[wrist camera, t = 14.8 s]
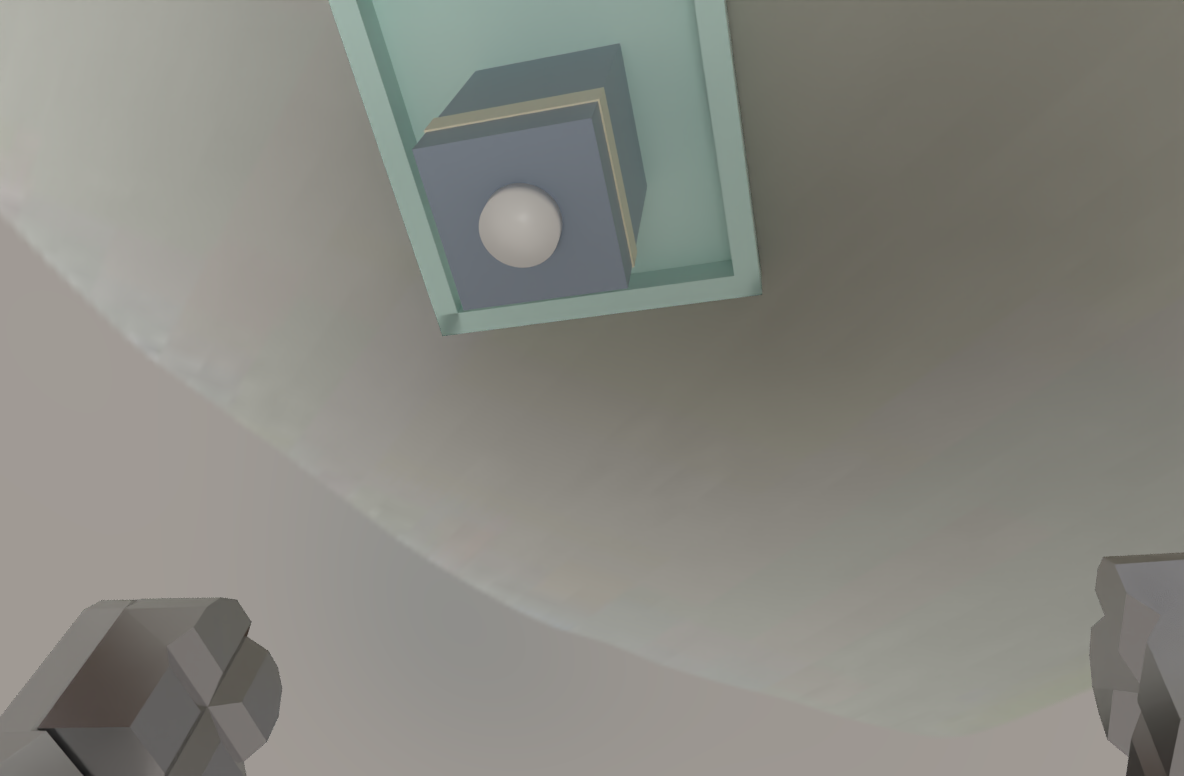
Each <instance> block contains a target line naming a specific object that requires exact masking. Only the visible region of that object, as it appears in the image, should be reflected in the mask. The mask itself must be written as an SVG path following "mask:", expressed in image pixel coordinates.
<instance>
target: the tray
mask: <svg viewBox="0 0 1184 776" xmlns="http://www.w3.org/2000/svg"><path fill="white" fill-rule="evenodd" d="M328 1H329V4H330V7H331V10H332V13H333V16H334V18H335V21H336V24H337V27H338V30H339V33H340V36H341V39H342V42H343V45H344V48H345V51H346V54H347V57H348V60H349V63H350V65H351V68H352V71H353V74H354V77H355V80H356V83H357V86H358V89H359V92H360V95H361V98H362V101H363V104H364V107H365V110H366V113H367V115H368V118H369V121H370V124H371V127H372V130H373V133H374V136H375V139H376V142H377V145H378V148H379V151H380V154H381V157H382V160H383V162H384V165H385V168H386V171H387V174H388V177H389V180H390V183H391V186H392V189H393V192H394V195H395V198H396V201H397V204H398V207H399V210H400V212H401V215H402V218H403V221H404V224H405V227H406V230H407V233H408V236H409V239H410V242H411V245H412V248H413V251H414V254H415V257H416V260H417V262H418V265H419V268H420V271H421V274H422V277H423V280H424V283H425V286H426V289H427V292H428V295H429V298H430V301H431V304H432V307H433V309H434V312H435V315H436V318H437V321H438V324H439V327H440V330H441V333H442V336H448V335H455V334H463V333H471V332H478V331H486V330H494V329H502V328H509V327H517V326H525V325H532V324H540V323H548V322H555V321H563V320H571V319H579V318H586V317H594V316H602V315H609V314H617V313H625V312H632V311H640V310H648V309H655V308H663V307H671V306H679V305H686V304H694V303H702V302H709V301H717V300H725V299H732V298H740V297H748V296H755V295H762V281H761V268H760V260H759V252H758V244H757V237H756V229H755V221H754V213H753V206H752V198H751V190H750V182H749V175H748V167H747V159H746V151H745V144H744V136H743V128H742V120H741V113H740V105H739V97H738V89H737V82H736V74H735V66H734V58H733V51H732V43H731V35H730V27H729V20H728V12H727V4H726V0H328ZM618 43H620V46H621V51H622V57H623V62H624V67H625V72H626V78H627V83H628V88H629V93H630V99H631V104H632V109H633V115H634V120H635V125H636V130H637V136H638V141H639V146H640V151H641V157H642V162H643V167H644V173H645V178H646V183H647V190H646V195H645V201H644V206H643V211H642V217H641V222H640V227H639V232H638V238H637V243H636V248H637V256H636V261H635V266H634V267H633V268H632V269H631V275H630V280H629V285H628V288H627V289H619V290H612V291H604V292H597V293H590V294H582V295H575V296H567V297H560V298H553V299H545V300H538V301H530V302H523V303H516V304H508V305H501V306H494V307H486V308H479V309H471V310H463V307H462V304H461V301H460V298H459V295H458V291H457V288H456V285H455V282H454V279H453V276H452V273H451V270H450V266H449V263H448V260H447V257H446V254H445V251H444V248H443V245H442V242H441V238H440V235H439V232H438V229H437V226H436V223H435V220H434V217H433V214H432V210H431V207H430V204H429V201H428V198H427V195H426V192H425V189H424V186H423V182H422V179H421V176H420V173H419V170H418V167H417V164H416V161H415V157H414V154H413V151H412V149H413V148H414V146H415V145H416V144H417V143H418V142H419V140H420V139H421V138H422V137H423V135H424V134H425V133H424V130H425V128H426V127H427V126H428V125H429V123H430V122H431V121H432V120H433V119H434V118H437V117H439V116H440V114H441V113H442V112H443V111H444V109H445V108H446V107H447V106H448V104H449V103H450V102H451V101H452V99H453V98H454V97H455V96H456V95H457V93H458V92H459V91H460V90H461V88H462V87H463V86H464V85H465V83H466V82H467V81H468V80H469V78H470V77H471V76H472V75H473V73H474V72H475V71H478V70H483V69H488V68H493V67H499V66H504V65H509V64H514V63H519V62H525V61H530V60H535V59H540V58H545V57H551V56H556V55H561V54H566V53H571V52H577V51H582V50H587V49H592V48H597V47H603V46H608V45H613V44H618Z"/></svg>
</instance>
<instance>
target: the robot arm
mask: <svg viewBox="0 0 1184 776" xmlns="http://www.w3.org/2000/svg"><path fill="white" fill-rule="evenodd" d="M1095 591H1096V594H1097V597H1098V599H1099V602H1100V605H1101V607H1102V610H1103V613H1104V615H1105V616H1104V617H1103V618H1101V619H1100V620H1099V621H1098V622H1097V623H1096V624H1094V625H1093V626H1092V627H1091V638H1090V654H1089V656H1090V667H1091V677H1092V687H1093V691H1094V695H1095V699H1096V704H1097V708H1098V712H1099V715H1100V718H1101V721H1102V725H1103V727H1104V731H1105V734H1106V737H1107V740H1109V741H1110V742H1111V743H1112V744H1113V745H1115V746H1116V747H1117V748H1118V749H1119V750H1121V751H1122V752H1123V753H1124V754H1126V755H1127V756H1128V757H1129V758H1128V766H1127V772H1126V776H1184V552H1183V553H1164V554H1146V555H1128V556H1109V557H1103V558H1102V560H1101V563H1100V565H1099V567H1098V570H1097V578H1096V587H1095ZM250 625H251V620H250V619H249V617H248V616H247V614H246V613H245V611H244V610H243V608H242V607H241V605H240V604H239V602H238V601H237V600H235V599H228V598H221V597H220V598H161V599H140V600H101V601H99V602H97V603H96V604H94V605H92V606H90V607H88V608H86V609H84V610H83V611H82V613H81V614H80V615H79V617H78V618H77V619H76V621H75V622H74V623H73V624H72V626H71V627H70V628H69V629H68V631H67V632H66V633H65V634H64V636H63V637H62V638H61V640H60V641H59V642H58V643H57V645H56V646H55V647H54V649H53V650H52V651H51V652H50V654H49V655H48V656H47V658H46V659H45V660H44V661H43V663H42V664H41V665H40V666H39V668H38V669H37V670H36V672H35V673H34V674H33V675H32V677H31V678H30V679H29V681H28V682H27V683H26V684H25V686H24V687H23V688H22V690H21V691H20V692H19V693H18V695H17V696H16V697H15V698H14V700H13V701H12V702H11V704H10V705H9V706H8V707H7V709H6V710H5V711H4V713H3V714H2V715H1V716H0V776H246V771H245V765H244V761H245V760H246V759H247V758H249V757H250V756H251V755H252V754H253V753H254V752H256V751H257V750H258V749H259V748H260V747H261V746H263V745H264V744H265V743H266V742H267V740H268V738H269V736H270V734H271V732H272V730H273V727H274V725H275V723H276V721H277V719H278V716H279V709H280V701H281V694H282V685H281V680H280V675H279V671H278V667H277V665H276V663H275V661H274V660H273V658H272V656H271V654H270V653H269V651H268V650H266V649H265V648H263V647H262V646H260V645H259V644H257V643H256V642H254V641H253V640H251V639H250V638H248V637H247V635H248V632H249V629H250Z"/></svg>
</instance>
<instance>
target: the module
mask: <svg viewBox="0 0 1184 776" xmlns="http://www.w3.org/2000/svg"><path fill="white" fill-rule="evenodd" d="M424 133H425V134H424V135H423V137H422V138H421V139H420V140H419V142H418V143H417V144H416V145H415V146H414V148H413V149H412V151H413V154H414V157H415V161H416V164H417V167H418V170H419V173H420V176H421V179H422V182H423V186H424V189H425V192H426V195H427V198H428V201H429V204H430V207H431V210H432V214H433V217H434V220H435V223H436V226H437V229H438V232H439V235H440V238H441V242H442V245H443V248H444V251H445V254H446V257H447V260H448V263H449V266H450V270H451V273H452V276H453V279H454V282H455V285H456V288H457V291H458V295H459V298H460V301H461V304H462V307H463V310H471V309H479V308H486V307H494V306H501V305H508V304H516V303H523V302H530V301H538V300H545V299H553V298H560V297H567V296H575V295H582V294H590V293H597V292H604V291H612V290H619V289H627V288H628V285H629V280H630V275H631V269H632V268H633V267H634V266H635V261H636V256H637V248H636V243H637V238H638V232H639V227H640V222H641V217H642V211H643V206H644V201H645V195H646V190H647V183H646V178H645V173H644V167H643V162H642V157H641V151H640V146H639V141H638V136H637V130H636V125H635V120H634V115H633V109H632V104H631V99H630V93H629V88H628V83H627V78H626V72H625V67H624V62H623V57H622V51H621V46H620V43H618V44H613V45H608V46H603V47H597V48H592V49H587V50H582V51H577V52H571V53H566V54H561V55H556V56H551V57H545V58H540V59H535V60H530V61H525V62H519V63H514V64H509V65H504V66H499V67H493V68H488V69H483V70H478V71H475V72H474V73H473V75H472V76H471V77H470V78H469V80H468V81H467V82H466V83H465V85H464V86H463V87H462V88H461V90H460V91H459V92H458V93H457V95H456V96H455V97H454V98H453V99H452V101H451V102H450V103H449V104H448V106H447V107H446V108H445V109H444V111H443V112H442V113H441V114H440V116H439V117H437V118H434V119H433V120H432V121H431V122H430V123H429V125H428V126H427V127H426V128H425V130H424Z"/></svg>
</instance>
